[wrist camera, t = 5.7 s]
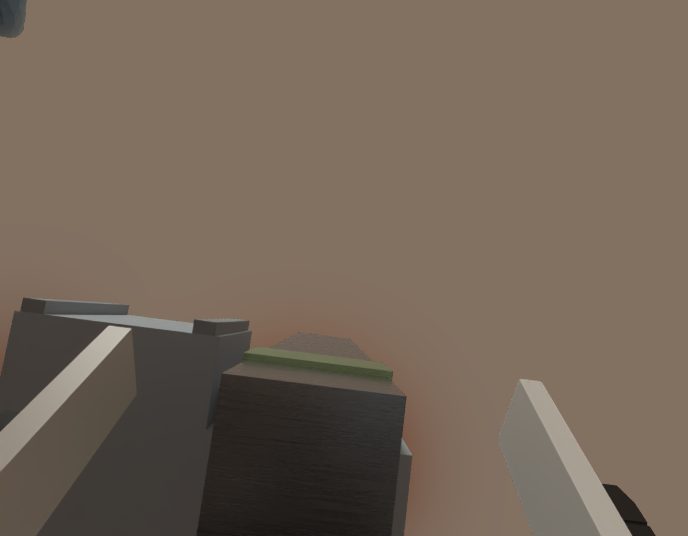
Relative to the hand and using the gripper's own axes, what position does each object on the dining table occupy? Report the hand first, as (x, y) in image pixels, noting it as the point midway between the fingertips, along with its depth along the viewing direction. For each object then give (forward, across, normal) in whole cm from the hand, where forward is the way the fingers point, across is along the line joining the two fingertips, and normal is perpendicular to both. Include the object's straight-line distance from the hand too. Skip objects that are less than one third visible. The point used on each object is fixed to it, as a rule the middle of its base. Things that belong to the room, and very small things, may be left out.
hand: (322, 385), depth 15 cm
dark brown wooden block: (+4, 0, -6) cm, 7 cm away
